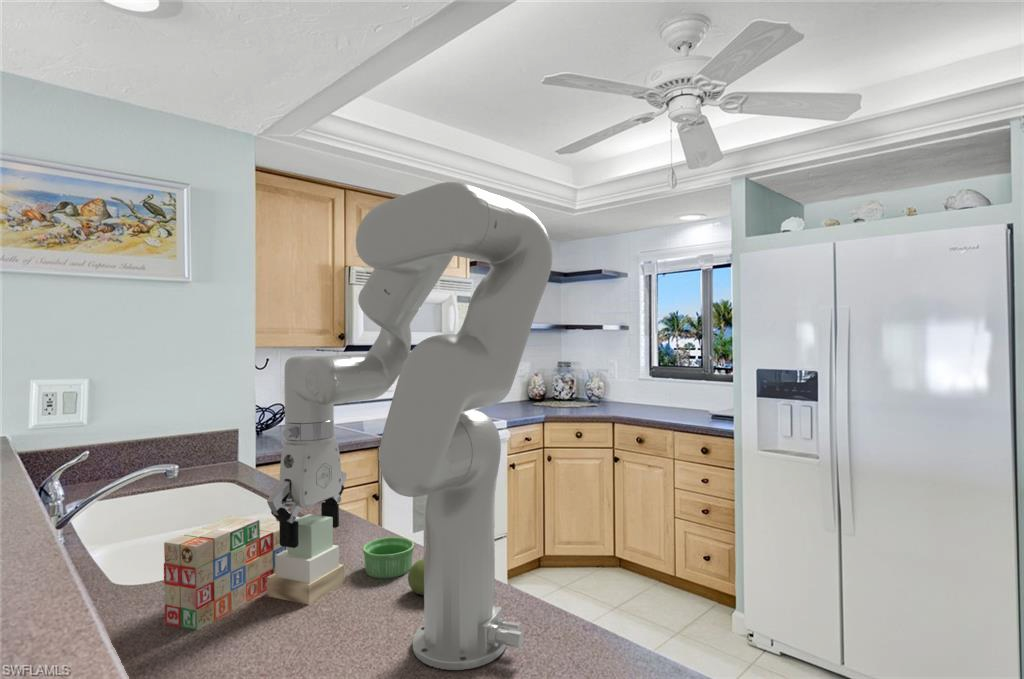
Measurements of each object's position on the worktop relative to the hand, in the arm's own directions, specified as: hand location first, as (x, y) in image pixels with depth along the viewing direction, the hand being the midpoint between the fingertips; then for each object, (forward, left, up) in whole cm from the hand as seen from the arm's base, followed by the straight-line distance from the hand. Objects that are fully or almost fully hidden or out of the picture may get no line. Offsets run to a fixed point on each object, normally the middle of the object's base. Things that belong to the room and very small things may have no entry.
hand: (310, 535), depth 92 cm
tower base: (+1, 0, -10) cm, 10 cm away
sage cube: (0, 0, -3) cm, 3 cm away
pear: (-20, -6, -9) cm, 23 cm away
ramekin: (-7, -12, -9) cm, 17 cm away
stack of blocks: (+10, +5, -9) cm, 15 cm away
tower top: (+1, 0, -6) cm, 6 cm away
